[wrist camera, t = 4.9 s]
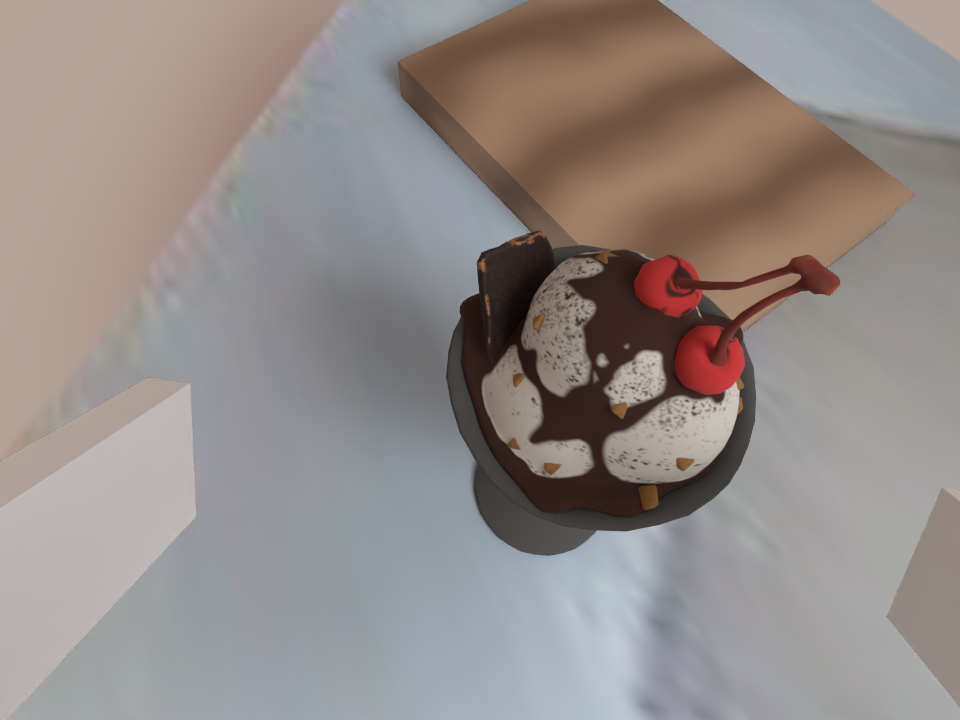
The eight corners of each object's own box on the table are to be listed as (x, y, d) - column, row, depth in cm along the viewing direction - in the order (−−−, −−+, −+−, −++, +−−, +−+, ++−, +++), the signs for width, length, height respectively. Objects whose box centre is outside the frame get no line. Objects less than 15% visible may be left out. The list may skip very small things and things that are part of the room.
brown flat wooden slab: (885, 223, 28) (915, 193, 26) (676, 383, 24) (694, 361, 22) (602, 0, 34) (610, -36, 32) (401, 96, 30) (397, 61, 28)
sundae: (660, 553, 21) (1036, 386, 7) (476, 602, 20) (513, 517, 6) (599, 386, 23) (790, 39, 10) (435, 423, 23) (400, 95, 9)
